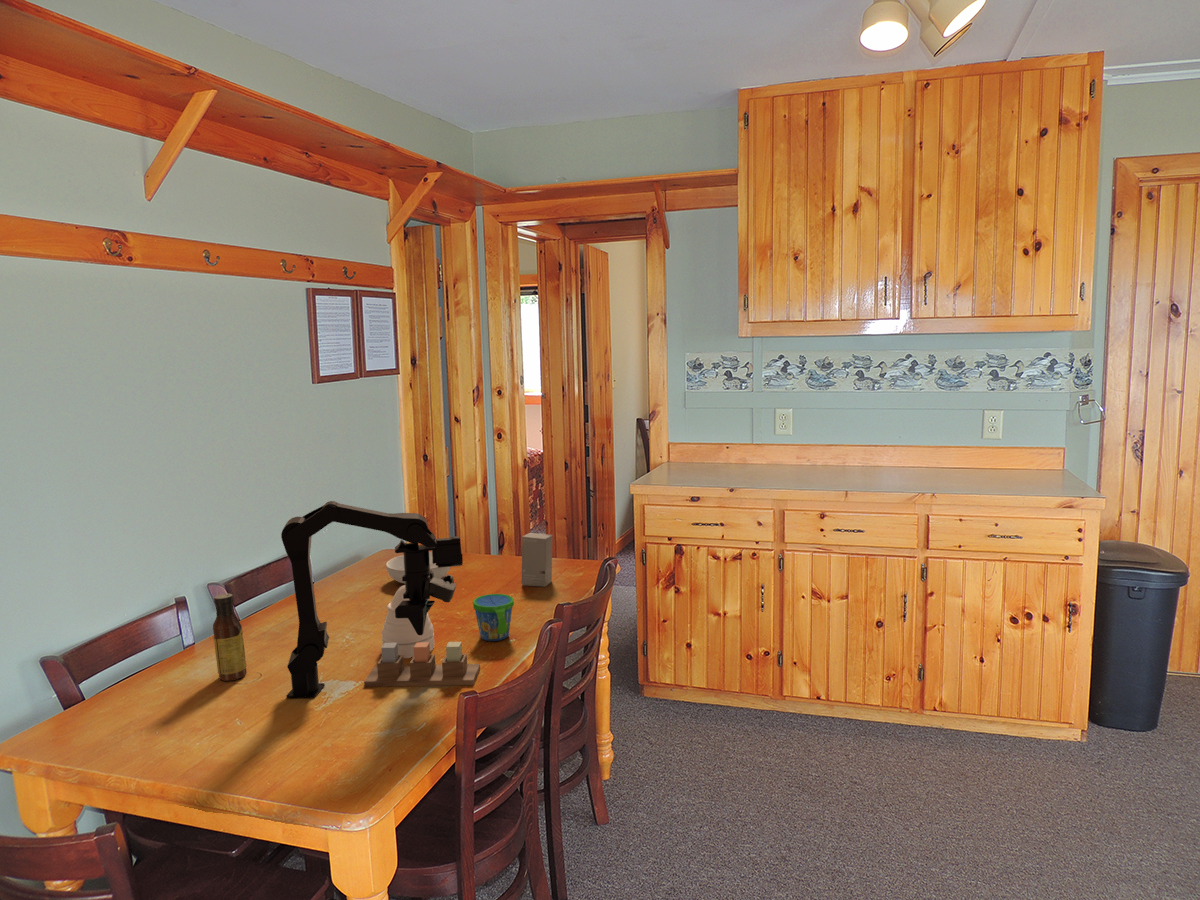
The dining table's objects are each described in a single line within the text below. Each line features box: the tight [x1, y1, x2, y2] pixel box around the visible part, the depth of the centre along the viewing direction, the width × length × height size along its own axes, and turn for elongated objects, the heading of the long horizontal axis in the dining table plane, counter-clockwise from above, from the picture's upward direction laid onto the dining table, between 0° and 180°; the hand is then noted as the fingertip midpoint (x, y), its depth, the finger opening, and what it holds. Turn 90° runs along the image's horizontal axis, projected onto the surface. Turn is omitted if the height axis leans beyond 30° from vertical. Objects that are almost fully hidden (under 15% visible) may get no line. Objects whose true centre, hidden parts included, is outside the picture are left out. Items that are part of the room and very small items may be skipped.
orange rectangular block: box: [414, 642, 431, 662], centre depth 188 cm, size 3×3×5 cm
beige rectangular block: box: [445, 641, 463, 662], centre depth 188 cm, size 3×3×5 cm
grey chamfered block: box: [380, 643, 399, 663], centre depth 189 cm, size 3×3×5 cm
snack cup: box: [472, 593, 515, 642], centre depth 213 cm, size 16×10×10 cm
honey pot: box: [381, 584, 435, 659], centre depth 206 cm, size 13×13×18 cm
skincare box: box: [521, 532, 553, 588], centre depth 258 cm, size 8×7×16 cm
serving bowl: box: [385, 551, 451, 585], centre depth 264 cm, size 21×21×7 cm
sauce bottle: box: [212, 593, 247, 682], centre depth 191 cm, size 7×6×20 cm
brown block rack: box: [363, 653, 481, 687], centre depth 189 cm, size 9×25×5 cm, turn 89°
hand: (420, 634), depth 188 cm, fingers closed
